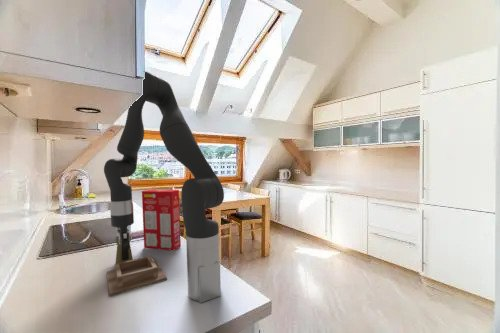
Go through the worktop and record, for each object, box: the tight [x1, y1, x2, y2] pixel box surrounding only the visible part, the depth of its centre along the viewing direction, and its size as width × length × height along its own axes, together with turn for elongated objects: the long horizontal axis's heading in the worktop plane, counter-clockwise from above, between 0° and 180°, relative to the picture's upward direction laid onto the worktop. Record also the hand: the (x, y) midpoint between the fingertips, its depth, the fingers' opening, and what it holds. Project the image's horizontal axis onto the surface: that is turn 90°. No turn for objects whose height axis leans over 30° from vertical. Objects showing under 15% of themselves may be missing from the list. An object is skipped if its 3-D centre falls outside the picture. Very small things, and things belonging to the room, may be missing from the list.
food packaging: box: [141, 189, 182, 251], centre depth 107 cm, size 15×5×25 cm, turn 76°
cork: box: [114, 234, 134, 265], centre depth 91 cm, size 6×6×11 cm
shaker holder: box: [106, 255, 168, 297], centre depth 81 cm, size 16×16×4 cm
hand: (124, 256), depth 92 cm, fingers open, 6 cm apart
